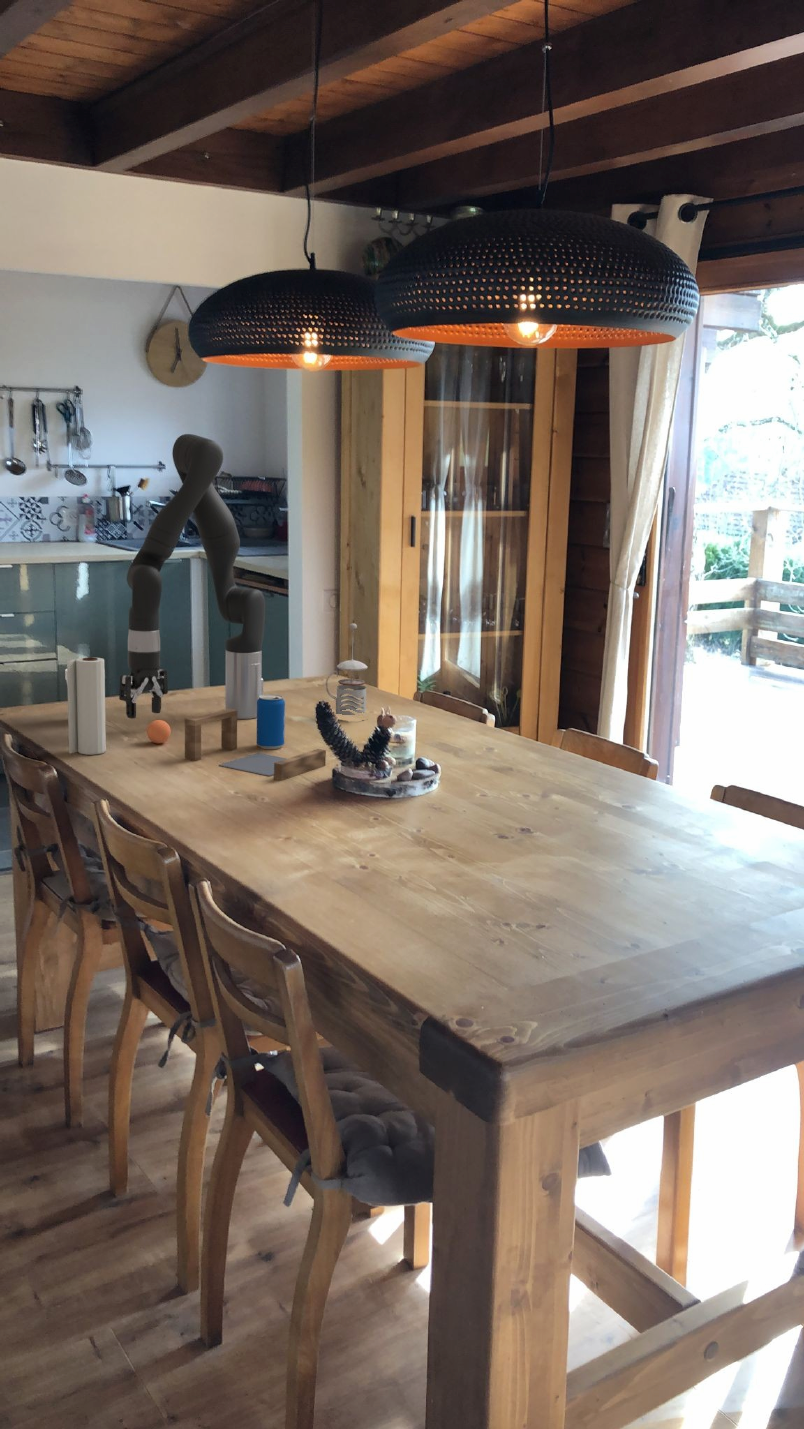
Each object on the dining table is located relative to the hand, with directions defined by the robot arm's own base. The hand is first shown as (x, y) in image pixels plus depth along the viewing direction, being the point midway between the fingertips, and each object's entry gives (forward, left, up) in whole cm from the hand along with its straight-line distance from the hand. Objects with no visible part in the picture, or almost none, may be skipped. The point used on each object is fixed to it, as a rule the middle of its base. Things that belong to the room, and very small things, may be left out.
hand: (144, 715), depth 287 cm
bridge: (+4, +25, -5) cm, 26 cm away
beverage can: (-10, +31, -5) cm, 33 cm away
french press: (-48, +27, -5) cm, 55 cm away
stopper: (+4, +50, -5) cm, 50 cm away
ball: (+4, +9, -2) cm, 10 cm away
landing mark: (+4, +40, -5) cm, 40 cm away
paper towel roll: (+20, +3, -5) cm, 21 cm away
